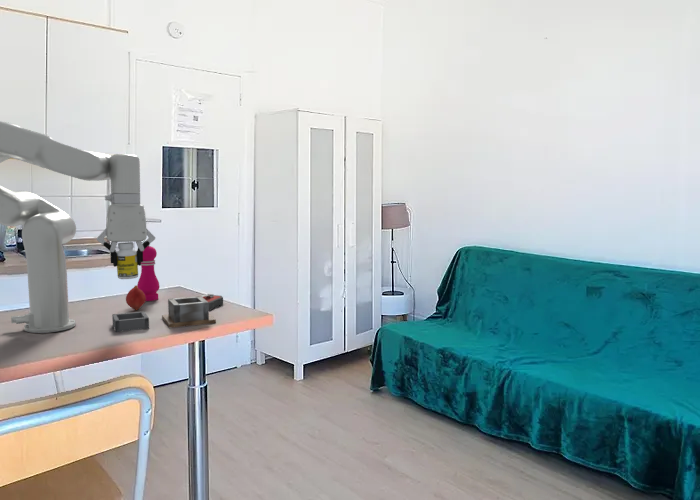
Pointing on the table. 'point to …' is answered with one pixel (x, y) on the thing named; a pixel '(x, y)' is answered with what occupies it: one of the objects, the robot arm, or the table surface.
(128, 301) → the onion
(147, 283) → the pepper mill
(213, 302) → the walkie-talkie
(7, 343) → the table surface
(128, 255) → the supplement bottle
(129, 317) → the frame
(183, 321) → the socket
